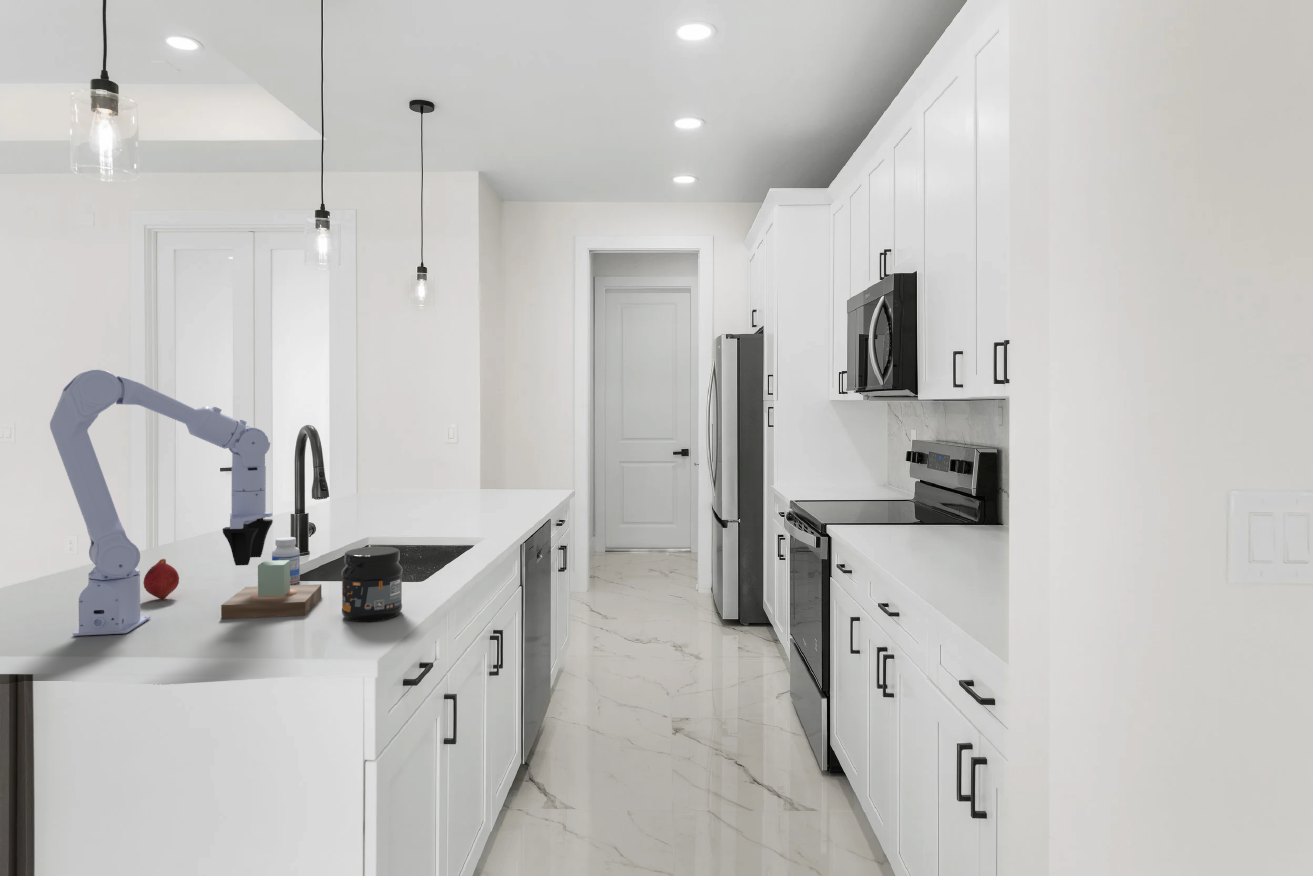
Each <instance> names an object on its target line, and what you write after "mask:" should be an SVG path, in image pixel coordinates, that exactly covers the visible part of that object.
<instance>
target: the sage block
mask: <svg viewBox="0 0 1313 876" xmlns="http://www.w3.org/2000/svg"><path fill="white" fill-rule="evenodd" d="M257 587H258V597H278V596H285V595H286V594H287V593H288V592H289V591H290V560H275V561H272V560H263V562H261V563H259V564H258V565H257Z"/></svg>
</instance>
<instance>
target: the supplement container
mask: <svg viewBox="0 0 1313 876" xmlns="http://www.w3.org/2000/svg"><path fill="white" fill-rule="evenodd" d="M400 554H401V553H400V550H399V549H398V548H395V547H391V546H366V547H359V548H358V547H357V548H353V549H349V550H346V552H344V565H345V566H344V567H343V569H342V570H341V573H340V575H341V577H342V578H341V580H342V581H341V590H342V591H341V597H342V598H341V599H342V600H341V604H342V605H341V614H342V616H343V617H344V618H345V619H346V620H348V621H351V622H352V621H353V622H357V623H358V622H359V623H360V622H361V623H369V622H371V623H372V622H379V621H385V620H389V619H391V618H395V617H396V616H398V615H399V614H400V613H401V612H402V610H403V603H402V602H403V601H402V600H403V599H402V587H403V586H402V583H403V581H402V579H403V578H402V576H403V567H402V565H401V564H400V563H399V561H400V559H401V558H400ZM394 616H395V617H394Z"/></svg>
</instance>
